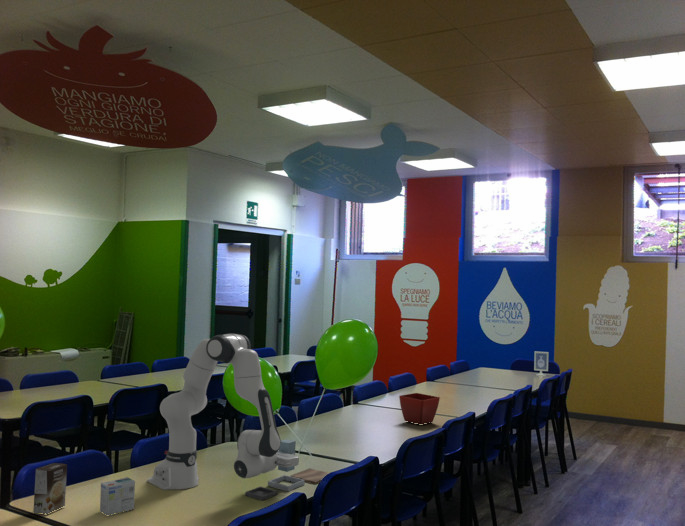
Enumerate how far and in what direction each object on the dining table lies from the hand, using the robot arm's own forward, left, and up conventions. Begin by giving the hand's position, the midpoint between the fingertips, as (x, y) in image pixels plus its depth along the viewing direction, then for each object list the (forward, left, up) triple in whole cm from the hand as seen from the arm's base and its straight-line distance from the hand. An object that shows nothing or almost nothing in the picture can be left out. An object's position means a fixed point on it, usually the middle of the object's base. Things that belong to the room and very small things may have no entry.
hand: (288, 453), depth 263 cm
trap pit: (0, -17, -13) cm, 21 cm away
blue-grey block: (0, -1, -7) cm, 7 cm away
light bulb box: (-30, -63, -13) cm, 71 cm away
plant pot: (-12, +147, -13) cm, 148 cm away
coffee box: (-49, -78, -13) cm, 93 cm away
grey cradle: (0, -1, -13) cm, 13 cm away
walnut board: (+2, +15, -13) cm, 20 cm away
